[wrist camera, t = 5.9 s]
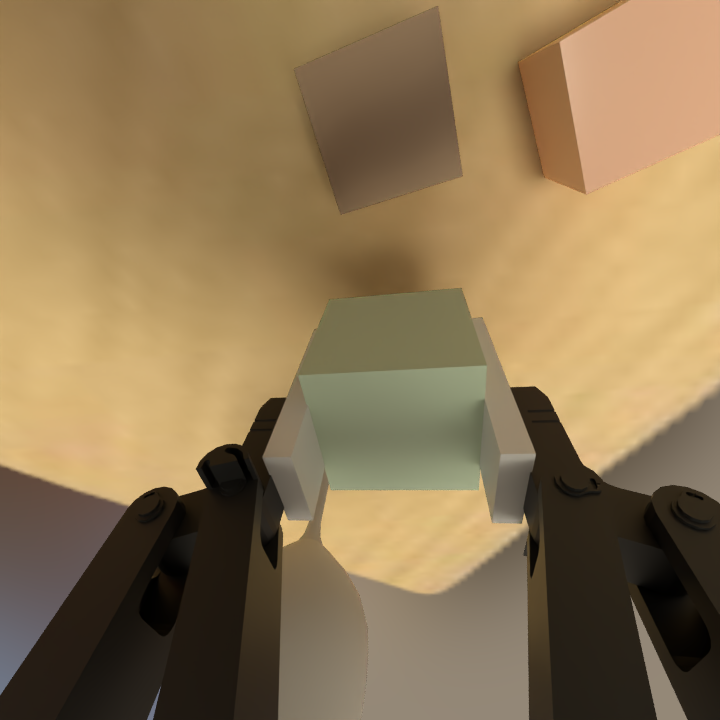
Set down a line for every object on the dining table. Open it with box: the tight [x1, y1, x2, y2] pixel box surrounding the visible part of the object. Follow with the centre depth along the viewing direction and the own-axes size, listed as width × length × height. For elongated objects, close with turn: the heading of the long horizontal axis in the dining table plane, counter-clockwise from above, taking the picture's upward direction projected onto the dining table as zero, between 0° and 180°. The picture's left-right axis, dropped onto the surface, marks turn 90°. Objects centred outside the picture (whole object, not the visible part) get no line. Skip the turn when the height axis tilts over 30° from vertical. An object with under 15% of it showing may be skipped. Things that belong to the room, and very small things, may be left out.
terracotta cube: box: [518, 0, 720, 194], centre depth 14 cm, size 5×5×5 cm
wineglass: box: [278, 469, 368, 720], centre depth 20 cm, size 8×8×21 cm
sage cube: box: [298, 288, 487, 490], centre depth 13 cm, size 5×5×5 cm
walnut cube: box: [294, 6, 463, 215], centre depth 15 cm, size 5×5×5 cm
